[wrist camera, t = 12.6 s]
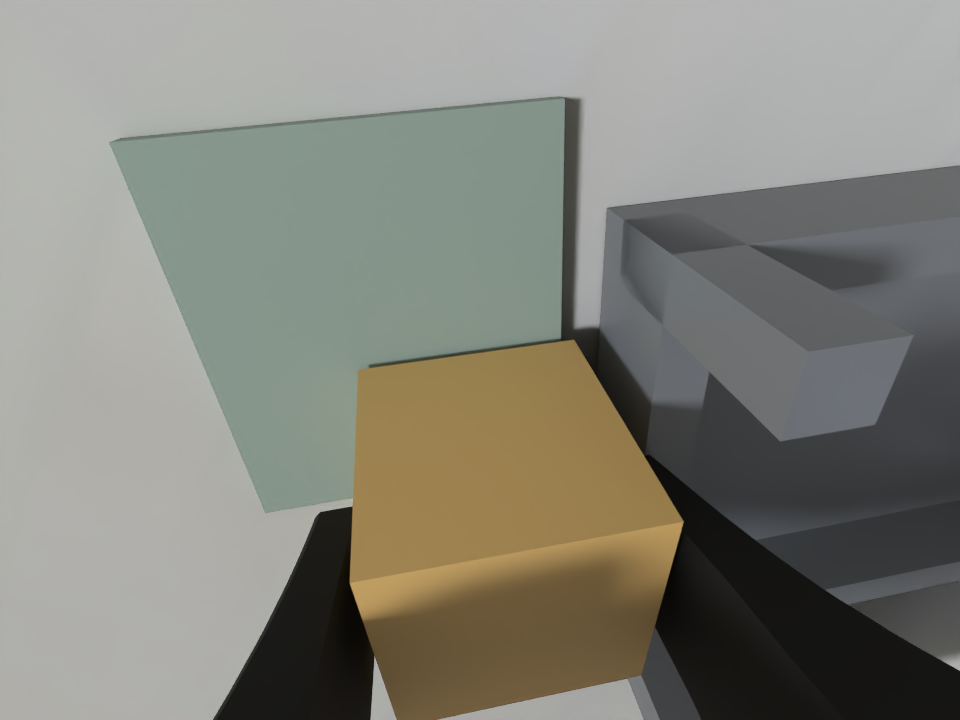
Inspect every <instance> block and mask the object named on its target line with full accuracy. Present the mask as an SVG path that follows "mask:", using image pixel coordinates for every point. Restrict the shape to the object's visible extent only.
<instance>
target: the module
mask: <svg viewBox="0 0 960 720" xmlns="http://www.w3.org/2000/svg"><path fill="white" fill-rule="evenodd" d="M683 523H684V521H683V520H682V518H681V517H680V515H679V513H678V512H677V510H676V508H675V507H674V505H673V503H672V502H671V500H670V498H669V497H668V495H667V493H666V492H665V490H664V488H663V487H662V485H661V483H660V482H659V480H658V478H657V477H656V475H655V473H654V472H653V470H652V468H651V467H650V465H649V463H648V462H647V460H646V458H645V457H644V455H643V453H642V452H641V450H640V448H639V447H638V445H637V443H636V442H635V440H634V438H633V437H632V435H631V433H630V432H629V430H628V428H627V427H626V425H625V423H624V422H623V420H622V418H621V417H620V415H619V413H618V412H617V410H616V408H615V407H614V405H613V403H612V402H611V400H610V398H609V397H608V395H607V393H606V392H605V390H604V388H603V387H602V385H601V383H600V382H599V380H598V378H597V377H596V375H595V373H594V372H593V370H592V368H591V367H590V365H589V363H588V362H587V360H586V358H585V357H584V355H583V354H582V352H581V350H580V349H579V347H578V345H577V344H576V342H575V340H569V341H562V342H554V343H547V344H540V345H533V346H526V347H518V348H511V349H504V350H497V351H490V352H482V353H475V354H468V355H461V356H453V357H446V358H439V359H432V360H425V361H417V362H410V363H403V364H396V365H389V366H381V367H374V368H367V369H360V370H358V388H357V413H356V438H355V463H354V488H353V512H352V537H351V562H350V586H351V588H352V591H353V594H354V597H355V600H356V603H357V606H358V609H359V612H360V615H361V617H362V620H363V623H364V626H365V629H366V632H367V635H368V638H369V641H370V644H371V646H372V649H373V652H374V655H375V658H376V661H377V664H378V667H379V670H380V673H381V675H382V678H383V681H384V684H385V687H386V690H387V693H388V696H389V699H390V702H391V704H392V707H393V710H394V713H395V716H396V719H397V720H437V719H442V718H446V717H451V716H456V715H460V714H465V713H470V712H474V711H479V710H483V709H488V708H493V707H497V706H502V705H507V704H511V703H516V702H521V701H525V700H530V699H534V698H539V697H544V696H548V695H553V694H558V693H562V692H567V691H571V690H576V689H581V688H585V687H590V686H595V685H599V684H604V683H609V682H613V681H618V680H622V679H627V678H632V677H636V676H641V674H642V671H643V667H644V663H645V660H646V656H647V652H648V649H649V645H650V642H651V638H652V634H653V631H654V627H655V624H656V620H657V616H658V613H659V609H660V606H661V602H662V598H663V595H664V591H665V588H666V584H667V580H668V577H669V573H670V570H671V566H672V562H673V559H674V555H675V551H676V548H677V544H678V541H679V537H680V533H681V530H682V526H683Z"/></svg>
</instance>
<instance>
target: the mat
mask: <svg viewBox="0 0 960 720" xmlns="http://www.w3.org/2000/svg"><path fill="white" fill-rule="evenodd" d="M564 125H565V99H564V98H561V97H548V98H538V99H527V100H517V101H506V102H496V103H485V104H475V105H464V106H454V107H443V108H433V109H423V110H412V111H402V112H391V113H381V114H370V115H360V116H349V117H339V118H328V119H318V120H307V121H297V122H286V123H276V124H265V125H255V126H244V127H234V128H223V129H213V130H202V131H192V132H182V133H171V134H161V135H150V136H140V137H129V138H120V139H117V140H114V141H112V142H109V143H110V145H111V148H112V150H113V153H114V155H115V157H116V160H117V162H118V164H119V167H120V169H121V172H122V174H123V176H124V179H125V181H126V183H127V186H128V188H129V191H130V193H131V195H132V198H133V200H134V202H135V205H136V207H137V210H138V212H139V214H140V217H141V219H142V221H143V224H144V226H145V228H146V231H147V233H148V236H149V238H150V240H151V243H152V245H153V247H154V250H155V252H156V255H157V257H158V259H159V262H160V264H161V266H162V269H163V271H164V274H165V276H166V278H167V281H168V283H169V285H170V288H171V290H172V293H173V295H174V297H175V300H176V302H177V304H178V307H179V309H180V312H181V314H182V316H183V319H184V321H185V323H186V326H187V328H188V330H189V333H190V335H191V338H192V340H193V342H194V345H195V347H196V349H197V352H198V354H199V357H200V359H201V361H202V364H203V366H204V368H205V371H206V373H207V376H208V378H209V380H210V383H211V385H212V387H213V390H214V392H215V395H216V397H217V399H218V402H219V404H220V406H221V409H222V411H223V414H224V416H225V418H226V421H227V423H228V425H229V428H230V430H231V433H232V435H233V437H234V440H235V442H236V444H237V447H238V449H239V451H240V454H241V456H242V459H243V461H244V463H245V466H246V468H247V470H248V473H249V475H250V478H251V480H252V482H253V485H254V487H255V489H256V492H257V494H258V497H259V499H260V501H261V504H262V506H263V508H264V511H265V513H268V512H274V511H280V510H286V509H291V508H297V507H303V506H309V505H315V504H320V503H326V502H332V501H338V500H344V499H350V498H353V488H354V463H355V438H356V413H357V388H358V370H360V369H367V368H374V367H381V366H389V365H396V364H403V363H410V362H417V361H425V360H432V359H439V358H446V357H453V356H461V355H468V354H475V353H482V352H490V351H497V350H504V349H511V348H518V347H526V346H533V345H540V344H547V343H554V342H561V306H562V246H563V185H564Z"/></svg>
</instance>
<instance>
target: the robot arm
mask: <svg viewBox="0 0 960 720" xmlns="http://www.w3.org/2000/svg"><path fill="white" fill-rule="evenodd" d="M644 457H645V458H646V460H647V462H648V463H649V465H650V467H651V468H652V470H653V472H654V473H655V475H656V477H657V478H658V480H659V482H660V483H661V485H662V487H663V488H664V490H665V492H666V493H667V495H668V497H669V498H670V500H671V502H672V503H673V505H674V507H675V508H676V510H677V512H678V513H679V515H680V517H681V518H682V520H683V521H684V523H683V526H682V530H681V533H680V537H679V541H678V544H677V548H676V551H675V555H674V559H673V562H672V566H671V570H670V573H669V577H668V580H667V584H666V588H665V591H664V595H663V598H662V602H661V606H660V609H659V613H658V616H657V620H656V624H655V628H656V630H657V632H658V634H659V636H660V638H661V640H662V642H663V644H664V646H665V648H666V650H667V652H668V654H669V656H670V658H671V659H672V661H673V663H674V665H675V667H676V669H677V671H678V673H679V675H680V677H681V679H682V681H683V683H684V685H685V687H686V689H687V691H688V693H689V695H690V697H691V699H692V701H693V703H694V705H695V707H696V709H697V711H698V714H699V716H700V718H701V720H960V671H959V670H957V669H955V668H954V667H952V666H950V665H948V664H946V663H945V662H943V661H941V660H939V659H937V658H936V657H934V656H932V655H930V654H928V653H927V652H925V651H923V650H921V649H920V648H918V647H916V646H914V645H913V644H911V643H909V642H908V641H906V640H904V639H902V638H901V637H899V636H897V635H896V634H894V633H892V632H891V631H889V630H887V629H886V628H884V627H882V626H881V625H879V624H878V623H876V622H874V621H873V620H871V619H870V618H868V617H867V616H865V615H863V614H862V613H860V612H859V611H857V610H855V609H854V608H852V607H851V606H849V605H848V604H846V603H844V602H843V601H841V600H840V599H838V598H836V597H835V596H833V595H832V594H830V593H829V592H827V591H826V590H824V589H823V588H821V587H820V586H818V585H817V584H815V583H814V582H813V581H811V580H810V579H808V578H807V577H805V576H804V575H803V574H801V573H800V572H798V571H797V570H796V569H794V568H793V567H791V566H790V565H789V564H787V563H786V562H784V561H783V560H781V559H780V558H779V557H777V556H776V555H775V554H773V553H772V552H771V551H769V550H768V549H767V548H765V547H764V546H763V545H761V544H760V543H759V542H757V541H756V540H755V539H753V538H752V537H751V536H750V535H748V534H747V533H746V532H744V531H743V530H742V529H740V528H739V527H738V526H737V525H735V524H734V523H733V522H731V521H730V520H729V519H728V518H726V517H725V516H724V515H723V514H721V513H720V512H719V511H718V510H716V509H715V508H714V507H713V506H711V505H710V504H709V503H708V502H706V501H705V500H704V499H703V498H702V497H700V496H699V495H698V494H697V493H696V492H694V491H693V490H692V489H691V488H689V487H688V486H687V485H686V484H685V483H683V482H682V481H681V480H680V479H679V478H677V477H676V476H675V475H674V474H673V473H671V472H670V471H669V470H668V469H667V468H665V467H664V466H663V465H662V464H661V463H659V462H658V461H657V460H656V459H654V458H653V457H652V456H651V455H647V456H644ZM352 512H353V507H347V508H341V509H336V510H330V511H324V512H320V513H319V514H318V515H317V516H316V518H315V520H314V523H313V525H312V528H311V530H310V533H309V535H308V537H307V540H306V542H305V545H304V547H303V549H302V552H301V554H300V556H299V558H298V561H297V563H296V565H295V567H294V569H293V572H292V574H291V576H290V578H289V580H288V582H287V585H286V587H285V589H284V591H283V593H282V595H281V597H280V599H279V601H278V603H277V605H276V607H275V609H274V611H273V613H272V615H271V617H270V619H269V621H268V623H267V625H266V627H265V629H264V631H263V632H262V634H261V636H260V638H259V640H258V642H257V644H256V646H255V647H254V649H253V651H252V653H251V654H250V656H249V658H248V660H247V662H246V663H245V665H244V667H243V669H242V671H241V672H240V674H239V676H238V678H237V680H236V681H235V683H234V685H233V687H232V689H231V690H230V692H229V694H228V696H227V697H226V699H225V701H224V702H223V704H222V706H221V707H220V709H219V711H218V712H217V714H216V716H215V717H214V719H213V720H370V717H371V701H372V686H373V670H374V652H373V649H372V646H371V644H370V641H369V638H368V635H367V632H366V629H365V626H364V623H363V620H362V617H361V615H360V612H359V609H358V606H357V603H356V600H355V597H354V594H353V591H352V588H351V586H350V562H351V537H352Z"/></svg>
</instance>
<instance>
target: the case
mask: <svg viewBox="0 0 960 720" xmlns="http://www.w3.org/2000/svg"><path fill="white" fill-rule="evenodd" d="M597 378H598V380H599V382H600V383H601V385H602V387H603V388H604V390H605V392H606V393H607V395H608V397H609V398H610V400H611V402H612V403H613V405H614V407H615V408H616V410H617V412H618V413H619V415H620V417H621V418H622V420H623V422H624V423H625V425H626V427H627V428H628V430H629V432H630V433H631V435H632V437H633V438H634V440H635V442H636V443H637V445H638V447H639V448H640V450H641V452H642V453H643V455H644V456H647V455H651V456H652V457H653V458H654V459H656V460H657V461H658V462H659V463H661V464H662V465H663V466H664V467H665V468H667V469H668V470H669V471H670V472H671V473H673V474H674V475H675V476H676V477H677V478H679V479H680V480H681V481H682V482H683V483H685V484H686V485H687V486H688V487H689V488H691V489H692V490H693V491H694V492H696V493H697V494H698V495H699V496H700V497H702V498H703V499H704V500H705V501H706V502H708V503H709V504H710V505H711V506H713V507H714V508H715V509H716V510H718V511H719V512H720V513H721V514H723V515H724V516H725V517H726V518H728V519H729V520H730V521H731V522H733V523H734V524H735V525H737V526H738V527H739V528H740V529H742V530H743V531H744V532H746V533H747V534H748V535H750V536H751V537H752V538H753V539H755V540H756V541H757V542H759V543H760V544H761V545H763V546H764V547H765V548H767V549H768V550H769V551H771V552H772V553H773V554H775V555H776V556H777V557H779V558H780V559H781V560H783V561H784V562H786V563H787V564H789V565H790V566H791V567H793V568H794V569H796V570H797V571H798V572H800V573H801V574H803V575H804V576H805V577H807V578H808V579H810V580H811V581H813V582H814V583H815V584H817V585H818V586H820V587H821V588H823V589H824V590H826V591H827V592H829V593H830V594H832V595H833V596H835V597H836V598H838V599H840V600H841V601H843V602H844V603H846V604H848V605H850V604H854V603H859V602H864V601H868V600H873V599H878V598H882V597H887V596H892V595H896V594H901V593H906V592H910V591H915V590H919V589H924V588H929V587H933V586H938V585H943V584H947V583H952V582H957V581H960V166H955V167H946V168H938V169H930V170H921V171H913V172H905V173H896V174H888V175H880V176H871V177H863V178H855V179H846V180H838V181H830V182H821V183H813V184H805V185H796V186H788V187H780V188H771V189H763V190H755V191H746V192H738V193H730V194H721V195H713V196H705V197H696V198H688V199H680V200H671V201H663V202H655V203H646V204H638V205H630V206H621V207H613V208H607V217H606V234H605V250H604V266H603V282H602V299H601V315H600V331H599V347H598V363H597ZM628 681H629V683H630V686H631V688H632V691H633V693H634V696H635V698H636V701H637V703H638V706H639V709H640V711H641V714H642V716H643V719H644V720H701V718H700V716H699V714H698V711H697V709H696V707H695V705H694V703H693V701H692V699H691V697H690V695H689V693H688V691H687V689H686V687H685V685H684V683H683V681H682V679H681V677H680V675H679V673H678V671H677V669H676V667H675V665H674V663H673V661H672V659H671V658H670V656H669V654H668V652H667V650H666V648H665V646H664V644H663V642H662V640H661V638H660V636H659V634H658V632H657V630H656V628H655V627H654V631H653V634H652V638H651V642H650V645H649V649H648V652H647V656H646V660H645V663H644V667H643V671H642V674H641V676H636V677H632V678H628Z"/></svg>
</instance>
